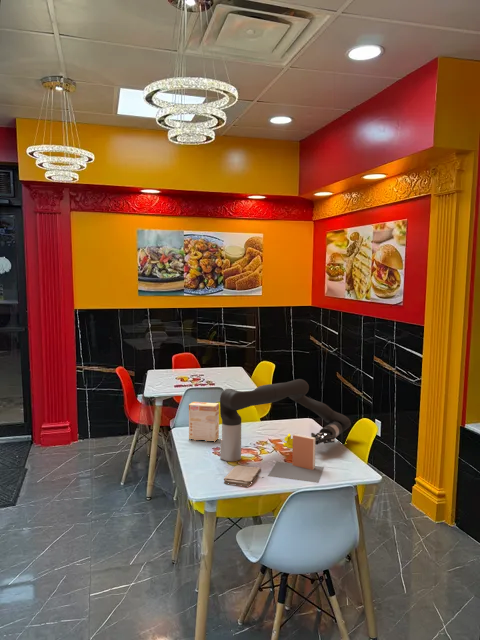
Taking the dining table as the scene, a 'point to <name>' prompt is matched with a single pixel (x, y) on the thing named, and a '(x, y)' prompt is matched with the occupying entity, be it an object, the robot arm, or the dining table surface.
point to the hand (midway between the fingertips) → (315, 442)
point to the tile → (303, 451)
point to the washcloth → (242, 475)
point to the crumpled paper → (288, 441)
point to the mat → (296, 472)
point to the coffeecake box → (204, 421)
